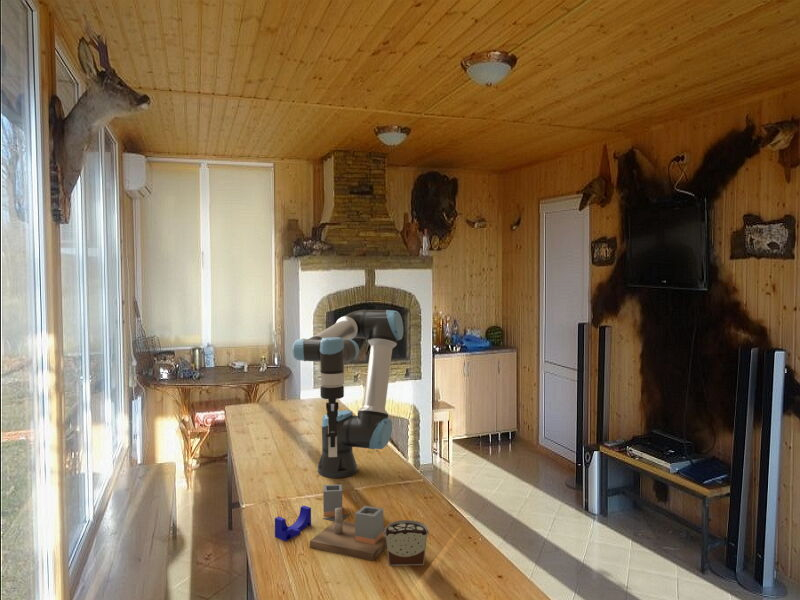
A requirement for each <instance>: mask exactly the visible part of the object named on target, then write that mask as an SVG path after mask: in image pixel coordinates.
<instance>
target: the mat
mask: <svg viewBox="0 0 800 600" xmlns="http://www.w3.org/2000/svg"><path fill="white" fill-rule="evenodd" d="M349 516H351V513H347V514H342V519H343V521H345V519H347V518H348V517H349ZM322 520H326V521H330V522H335V516H328V517H325V518H323V517H322Z"/></svg>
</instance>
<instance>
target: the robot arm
mask: <svg viewBox="0 0 800 600" xmlns="http://www.w3.org/2000/svg"><path fill="white" fill-rule="evenodd" d="M403 337H404V323H403V319H402V316H401V314H400V312H399V311H397V310H391V309H359V310H354V311H352V312H349V313H346V315H342V316H341V317H339V318H338V319H337V320H336V322H335V323H334V324H333V325H330V326H329V327H327V328H325V329H324V330H322V331H320V332H319V333H317V334H315V335H313V336H312V337H310V338H298V339H296V340H295V341H294V343H293V344H292V355H293V358H294V360H296V361H302V362H316V363H317V362H319V363H320V364H319V365H320V371H319V372H320V375H318V379H320V385H321V386H320V393H319V394H320V398H321V399H323V400H328V402H325V410H326V414H324V415H323V416H322V418H321V420H322V421H321V455H320V459H319V461H318V464H317V473H318V475H320V476H322V477H324V478H328V479H342V478H349V477H352V476H354V475H355V474H357V472H358V464H357V461H356V458H355V455H354V452H353V451H354V450H353V448H359V449H370V450H382V449H384V448H386V447H387V445H388V444H389V443H390V442H389V441H390V440H391V436H392V431H393V421H392V419H391V418H390V417H389V412H388V411H387V410H386V404H387V396H388V388H389V380H390V379H389V378H390V372H391V363H392V355H393V354H392V353H393V349H394V348H395V347H396V346H397V345H398V341H400V340H402V339H403ZM354 339H367V343H368V344H369V346H370V350H369V356H368V357H369V358H368V366H367V372H366V379H365V381H366V382H365V388H364V394H363V395H364V396H363V403H362V407H360V408H359V409H358V410H357V415H354V414H353V411H352V410H349V409H346V410H345V409H344V410H339V402H338V401H337V399H338V400H339V399H343V398H344V396H345V394H344V393H345V386H344V384H345V372H344V370H345V367H344V366H345V365H344V364H347V363H351V362H352V361H353V362H354V360H356V359H357V357H358V356H359V353H360V347H359V344H358V343H357V342H356V341H355V340H354Z"/></svg>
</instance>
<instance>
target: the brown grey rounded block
mask: <svg viewBox="0 0 800 600" xmlns="http://www.w3.org/2000/svg"><path fill="white" fill-rule="evenodd" d="M384 528H385V531H384V535H385V533H386V543H387V547H386V550H387V551H386V552H387V561H388V566H393V567H394V566H399V567H400V566H424V565H425V557H426V548H427V539H428V536H430V532H429V529H428V526H427V525H426V524H424V523H423V522H421V521H417V520H410V519H403V520H395V521H392V522H390V523H389V524H387V525H386V526H385V527H384ZM383 537H384V536H383Z"/></svg>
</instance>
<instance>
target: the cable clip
mask: <svg viewBox="0 0 800 600" xmlns="http://www.w3.org/2000/svg"><path fill="white" fill-rule="evenodd" d="M307 526H309V527H311V526H312V507H310V506H307V505H302V506H300V511H299V515H298V516H297V518H296V521H295V522H294V523H293V524H291V525H290V526H288V525H287V521H286V518H285V517H282V516H279V515H278V516H277V517H275V518H274V538H276V539H279V540H281V541H283V542H287V541H289V540H291V539H293V538H295V537H297V536H299V535H301V531H302V530H305V529H306V528H308V527H307Z"/></svg>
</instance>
